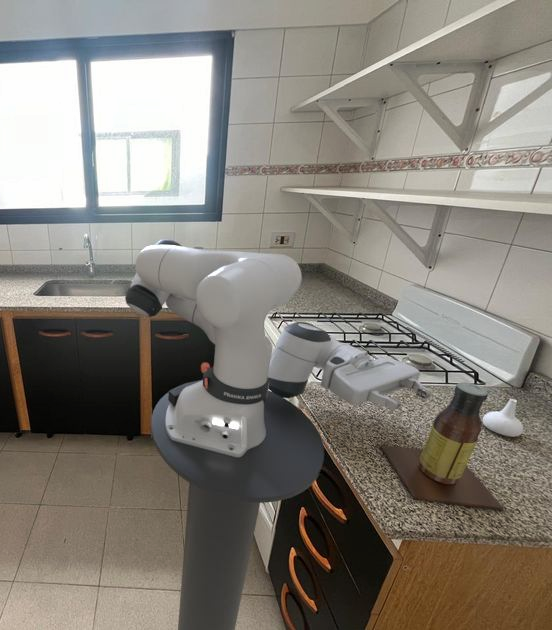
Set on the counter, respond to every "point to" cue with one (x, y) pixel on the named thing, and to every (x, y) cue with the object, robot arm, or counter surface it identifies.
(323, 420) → the counter surface
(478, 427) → the sauce bottle
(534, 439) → the counter surface
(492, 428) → the garlic bulb
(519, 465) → the counter surface
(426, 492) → the walnut board
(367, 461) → the counter surface
